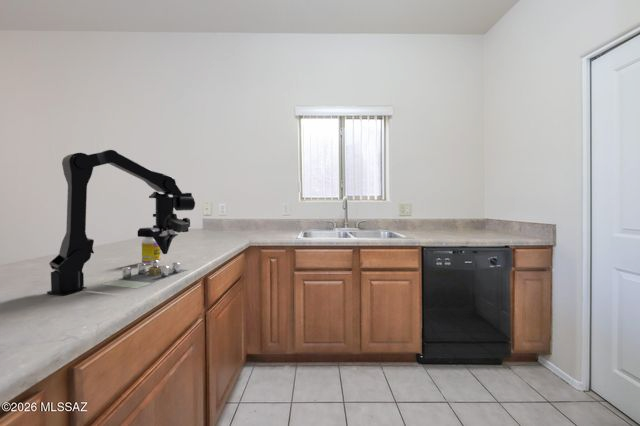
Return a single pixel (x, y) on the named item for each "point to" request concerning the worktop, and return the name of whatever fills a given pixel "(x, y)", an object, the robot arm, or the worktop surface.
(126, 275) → the spacers
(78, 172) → the robot arm
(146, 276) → the mat
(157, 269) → the nut
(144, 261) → the supplement bottle
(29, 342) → the worktop surface
